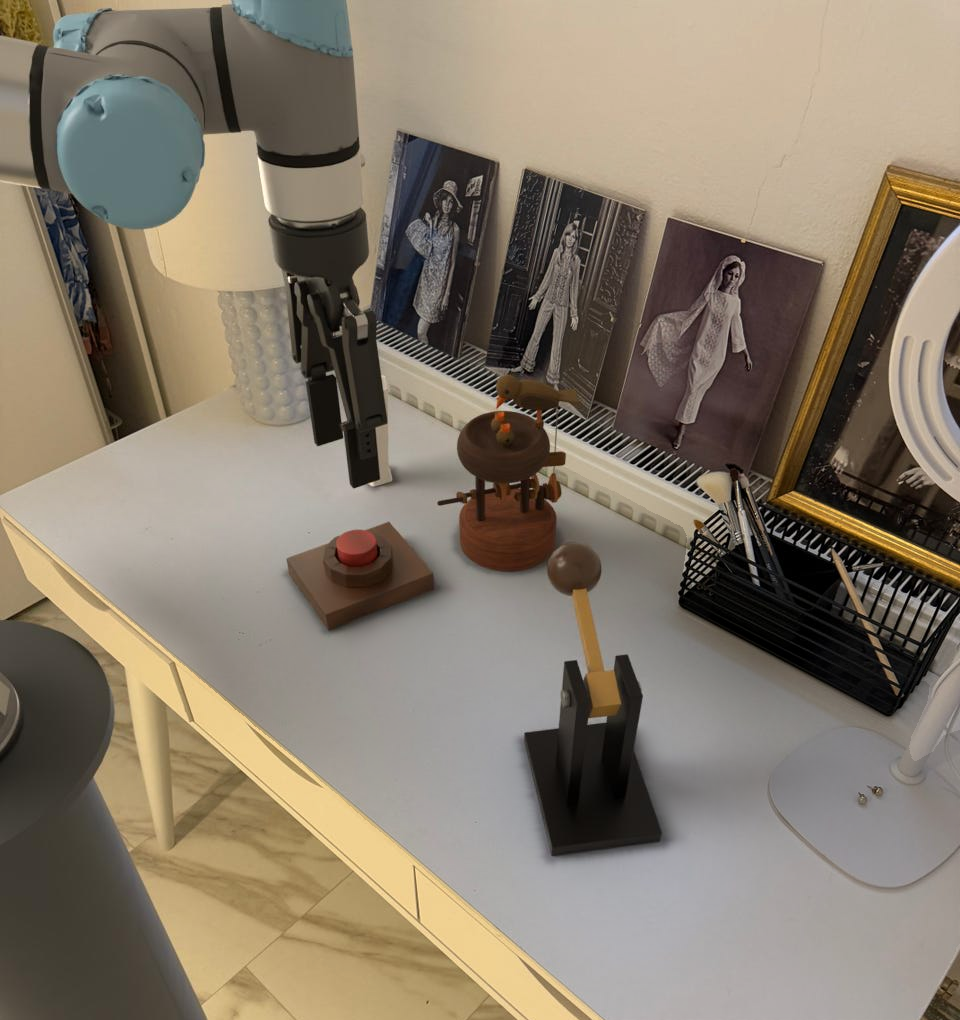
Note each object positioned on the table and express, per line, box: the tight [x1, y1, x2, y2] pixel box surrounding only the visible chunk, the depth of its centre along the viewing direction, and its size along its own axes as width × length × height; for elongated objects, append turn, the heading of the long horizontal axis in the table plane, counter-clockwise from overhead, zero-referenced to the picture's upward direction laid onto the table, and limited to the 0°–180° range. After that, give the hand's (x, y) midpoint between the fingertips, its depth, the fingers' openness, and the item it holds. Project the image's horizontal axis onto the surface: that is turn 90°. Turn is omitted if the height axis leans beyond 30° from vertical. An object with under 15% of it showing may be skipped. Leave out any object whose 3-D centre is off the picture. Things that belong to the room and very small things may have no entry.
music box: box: [436, 374, 581, 572], centre depth 98 cm, size 15×11×20 cm
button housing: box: [285, 521, 435, 631], centre depth 99 cm, size 12×10×4 cm
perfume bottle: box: [368, 374, 393, 487], centre depth 109 cm, size 5×4×15 cm
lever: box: [546, 541, 621, 719], centre depth 76 cm, size 15×4×4 cm, turn 9°
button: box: [336, 529, 377, 567], centre depth 98 cm, size 4×4×2 cm
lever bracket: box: [523, 654, 663, 857], centre depth 77 cm, size 12×9×14 cm
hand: (346, 460), depth 90 cm, fingers open, 7 cm apart
